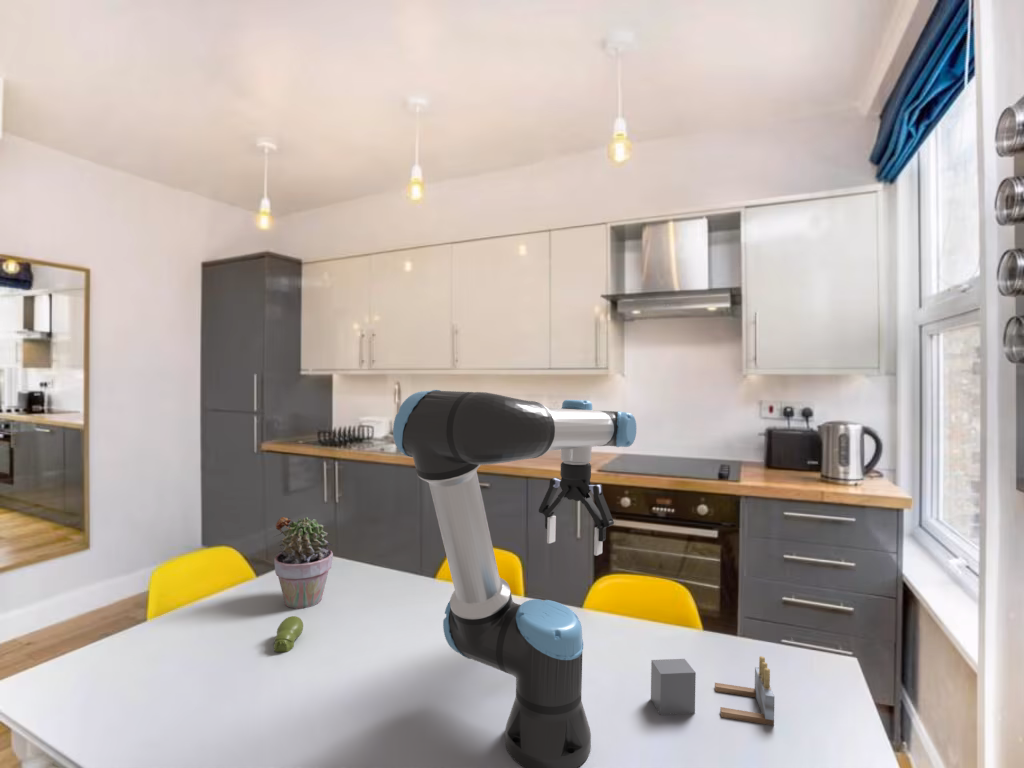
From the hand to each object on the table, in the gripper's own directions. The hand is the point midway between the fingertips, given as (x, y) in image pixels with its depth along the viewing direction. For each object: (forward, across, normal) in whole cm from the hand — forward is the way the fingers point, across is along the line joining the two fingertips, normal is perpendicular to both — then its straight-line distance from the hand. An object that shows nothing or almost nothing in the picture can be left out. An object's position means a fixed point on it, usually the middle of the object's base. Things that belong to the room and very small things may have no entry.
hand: (573, 548), depth 128 cm
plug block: (+23, -29, +8) cm, 38 cm away
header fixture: (+23, -40, -1) cm, 46 cm away
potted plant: (+24, +71, +29) cm, 81 cm away
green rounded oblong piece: (+24, +52, +45) cm, 73 cm away
